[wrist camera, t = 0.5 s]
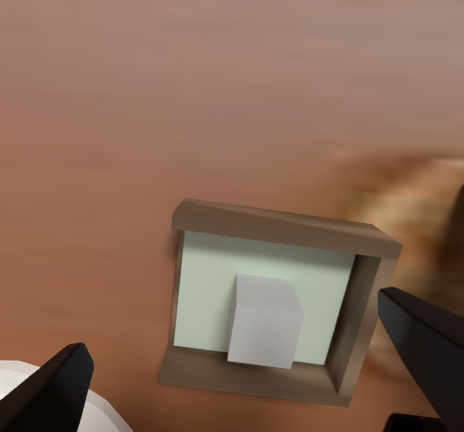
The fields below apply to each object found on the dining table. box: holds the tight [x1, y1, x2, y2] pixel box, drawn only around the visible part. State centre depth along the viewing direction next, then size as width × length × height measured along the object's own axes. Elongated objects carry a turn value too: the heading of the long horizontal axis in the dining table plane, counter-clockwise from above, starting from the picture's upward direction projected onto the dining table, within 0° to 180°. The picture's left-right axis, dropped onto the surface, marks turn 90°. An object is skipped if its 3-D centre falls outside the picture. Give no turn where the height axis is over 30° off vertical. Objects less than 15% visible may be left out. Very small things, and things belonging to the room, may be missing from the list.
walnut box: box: [159, 198, 402, 408], centre depth 20 cm, size 13×14×4 cm
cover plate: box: [174, 231, 356, 369], centre depth 19 cm, size 10×12×5 cm
